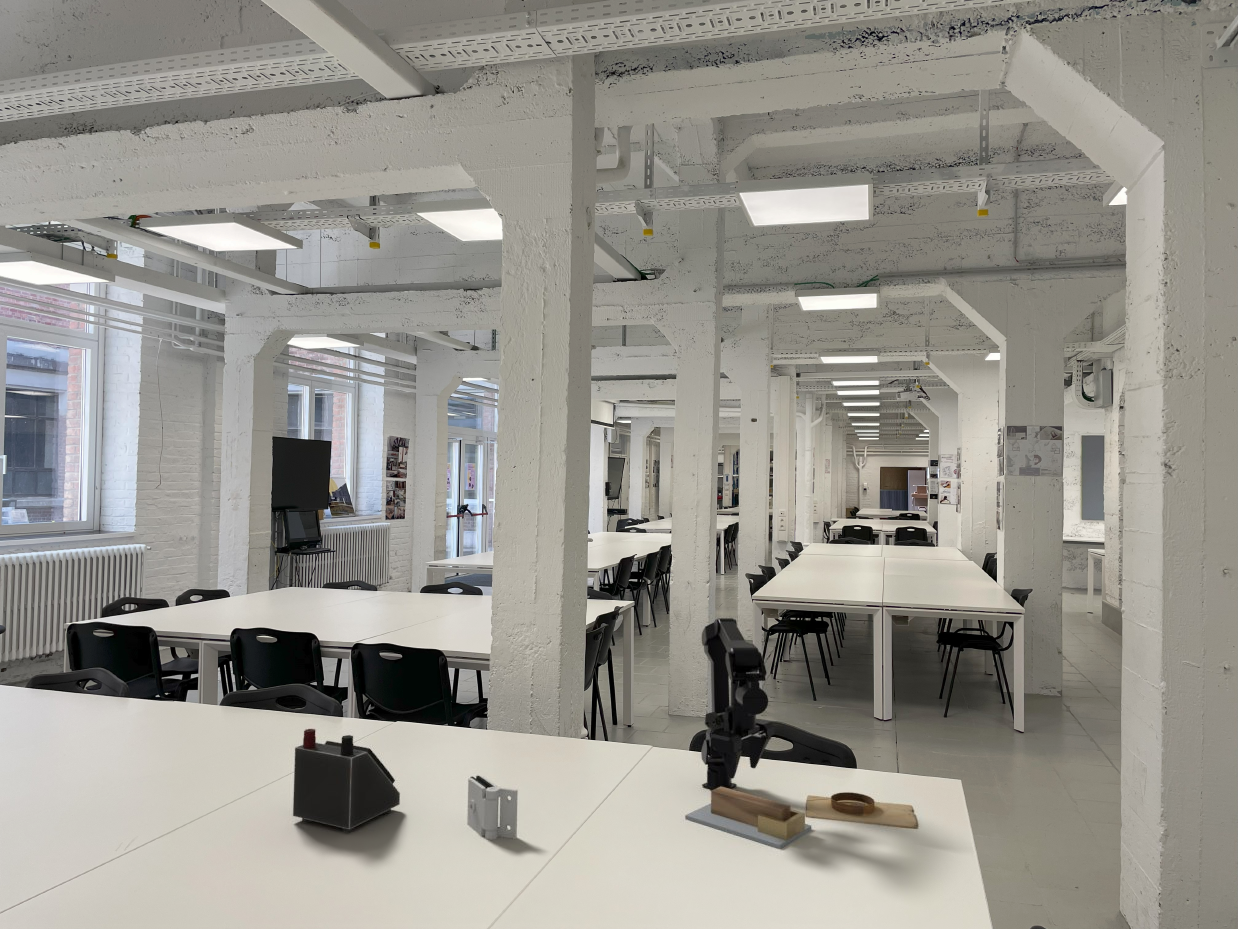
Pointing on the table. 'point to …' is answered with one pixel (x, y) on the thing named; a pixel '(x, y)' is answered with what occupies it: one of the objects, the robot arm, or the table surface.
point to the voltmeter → (340, 783)
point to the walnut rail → (745, 806)
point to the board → (860, 810)
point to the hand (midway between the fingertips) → (742, 773)
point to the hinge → (491, 809)
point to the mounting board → (738, 827)
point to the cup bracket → (782, 825)
